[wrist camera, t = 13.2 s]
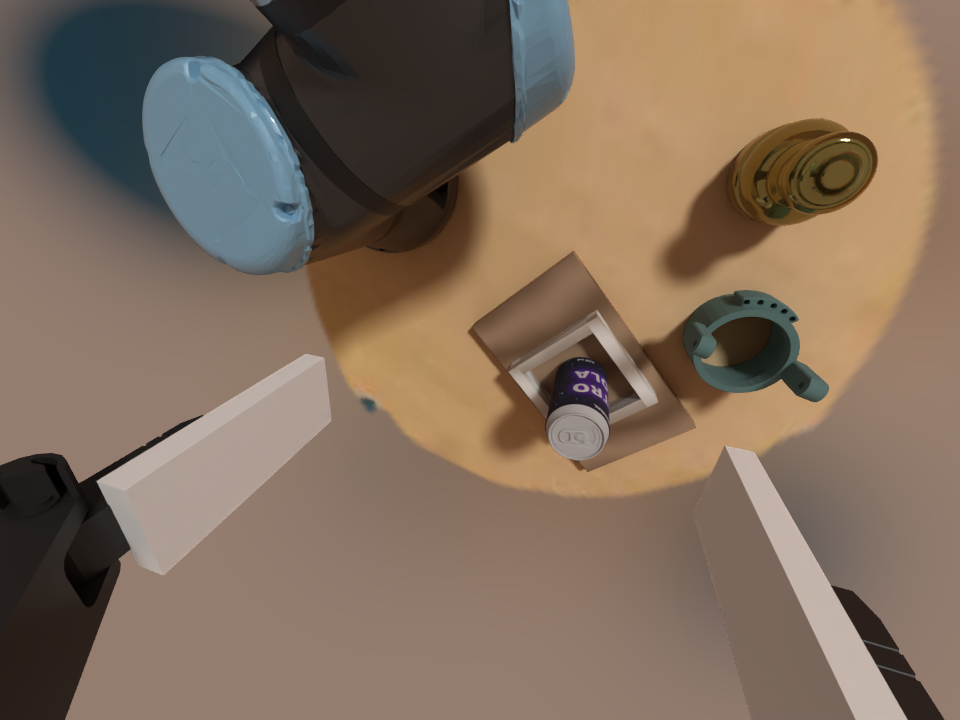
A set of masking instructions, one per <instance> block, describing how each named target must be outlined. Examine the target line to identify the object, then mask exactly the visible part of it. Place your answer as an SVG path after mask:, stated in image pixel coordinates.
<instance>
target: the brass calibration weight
mask: <svg viewBox="0 0 960 720" xmlns="http://www.w3.org/2000/svg"><path fill="white" fill-rule="evenodd" d="M877 164H878V155H877V151H876V148H875V146H874V144H873V143H872V142H871V141H870V140H869V139H868V138H867V137H865V136H863V135H861V134H859V133H855V132H849V131H848V130H847V129H846V128H845V127H844V126H842V125H841V124H839V123H837V122H834V121H831V120H827V119H806V120H801V121H797V122H794V123H790V124H786V125H783V126H780V127H778V128H775V129H772V130H770V131H768V132H765V133H764V134H762V135H760V136H758V137H757V138H755V139H754V140H753V141H751V142H750V143H749V144H748V145H747V146H746V147H745V148H744V149H743V150H742V151H741V152H740V154H739V155H738V156H737V158H736V159H735V161H734V163H733V165H732V167H731V169H730V172H729V175H728V181H727V193H728V197H729V200H730V202H731V204H732V206H733V207H734V208H735V209H736V210H737V211H738V212H739V213H740V214H742V215H743V216H746V217H748V218H750V219H752V220H755V221H758V222H762V223H765V224H769V225H776V226H786V225H793V224H798V223H801V222H804V221H807V220H809V219H812V218H814V217H816V216H818V215H819V214H826V213H830V212H833V211H836V210H839V209H841V208H843V207H845V206H847V205H848V204H850V203H851V202H853V201H854V200H855V199H857V198H858V197H859V196H860V195H861V194H862V193H863V192H864V191H865V190H866V188H867V187H868V186H869V184H870V183H871V181H872V179H873V177H874V175H875V172H876V169H877Z"/></svg>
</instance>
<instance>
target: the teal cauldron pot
mask: <svg viewBox="0 0 960 720" xmlns="http://www.w3.org/2000/svg"><path fill="white" fill-rule="evenodd" d="M742 317H762V318H766V319H770V320H771V321H772V333H771V337H770V339H769V342H768V343H767V345H766V346H765V348H764V349H763V350H762V351H761V352H760V353H759V354H758V355H756V356H755V357H754V358H752V359H750V360H749V361H747V362H744V363H742V364H739V365H735V366H728V367H718V366H712V365H708V364H706V363H703V362H702V361H701V358H704V359H707V358H708V357H710V356H711V355H712V353H713V352H714V350H715V348H716V345H717V342H716V340H715V339H714V337H713V336H712V335H711V333H712V332H713V331H714V330H716V329H717V328H718V327H719V326H721V325H723V324H725V323H726V322H729V321H731V320H734V319H737V318H742ZM798 320H799V318H798V317H797V315H796V314H795V313H794V312H793V311H792V310H791V309H790V308H789V307H788V306H786V305H785V304H783V303H782V302H780V301H779V300H777V299H776V298H774V297H773V296H771V295H768V294H766V293H763V292H758V291H751V290H743V291H735V292H734V294H729V295H723V296H719V297H716V298H713V299H711V300H709V301H707V302H706V303H704V304H702V305H701V306H700V307H698V308H697V309H696V310H695V311H694V313H693V314H692V316H691V317H690V319H689V321H688V322H687V324H686V325H685V327H684V331H683V342H684V347H685V349H686V351H687V353H688V355H689V357H690V359H691V361H692V363H693V365H694V367H695V369H696V371H697V372H698V374H699V375H700V377H701V378H702V379H703V380H704V381H705V382H706V383H708V384H709V385H711V386H713V387H714V388H716V389H719V390H722V391H726V392H732V393H745V392H752V391H757V390H760V389H763V388H766V387H768V386H770V385H772V384H774V383H776V382H777V381H779V380H780V379H782V380H783V381H784V382H785V384H786V385H787V386H788V387H789V388H790V389H791V390H792V391H793V392H794V393H795V394H796V395H797V396H799V397H802V398H804V399H807V400H809V401H812V402H818V401H820V400H822V399H823V398H824V397H825V396H826V394H827V393H828V390H829V386H828V384H827V383H826V382H825V381H823V380H822V379H821V378H820V377H819V376H818V375H817V374H816V373H815V372H813V371H812V370H811V369H810V368H809V367H808V366H807V365H805V364H803V363H801V362H799V361H797V357H798V355H799V349H800V342H799V337H798V334H797V332H796V330H795V328H794V327H793V325H792V324H791V323H793V322H796V321H798Z"/></svg>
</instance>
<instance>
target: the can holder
mask: <svg viewBox="0 0 960 720" xmlns="http://www.w3.org/2000/svg"><path fill="white" fill-rule="evenodd" d="M472 328H473V329H474V330H475V332H476V333H477V334H478V335H479V337H480V338H481V339H482V340H483V342H484V343H485V344H486V345H487V347H488V348H489V349H490V350H491V352H492V353H493V354H494V355H495V357H496V358H497V359H498V360H499V362H500V363H501V364H502V365H503V367H504V368H505V369H506V371H507V372H508V373H509V374H510V376H511V377H512V378H513V379H514V381H515V382H516V383H517V384H518V386H519V387H520V388H521V389H522V391H523V392H524V393H525V394H526V396H527V397H528V398H529V399H530V401H531V402H532V403H533V404H534V406H535V407H536V408H537V409H538V411H539V412H540V413H541V414H542V416H543V417H544V418H545V419H547V414H548V409H549V404H550V399H551V395H552V390H553V385H554V380H555V375H556V372H557V370H558V368H559V366H560V365H561V364H562V363H563V362H565V361H566V360H568V359H571V358H575V357H586V358H590V359H593V360H595V361H596V362H598V363H599V364H600V365H601V366H602V367H603V368H604V370H605V372H606V375H607V384H608V403H609V422H610V435H609V438H608V441H607V442H606V444H605V445H604V447H603V449H602V451H601V452H600V453H599V454H598V455H596V456H595V457H593V458H590V459H587V460H578V461H579V462H580V463H581V465H582V466H583V467H584V468H585V470H586V471H587V472H589V471H591V470H594V469H596V468H599V467H601V466H604V465H606V464H609V463H611V462H614V461H616V460H618V459H621V458H623V457H626V456H628V455H631V454H633V453H636V452H638V451H640V450H643V449H645V448H648V447H650V446H653V445H655V444H658V443H660V442H663V441H665V440H667V439H670V438H672V437H675V436H677V435H680V434H682V433H685V432H687V431H689V430H692V429H694V428H696V426H695V424H694V421H693V419H692V418H691V417H690V415H689V414H688V412H687V411H686V409H685V408H684V407H683V405H682V404H681V402H680V401H679V400H678V398H677V397H676V395H675V394H674V392H673V391H672V390H671V388H670V387H669V385H668V384H667V382H666V381H665V380H664V378H663V377H662V375H661V374H660V373H659V371H658V370H657V368H656V367H655V365H654V364H653V363H652V361H651V360H650V358H649V357H648V355H647V354H646V353H645V351H644V350H643V348H642V347H641V346H640V344H639V343H638V341H637V340H636V338H635V337H634V336H633V334H632V333H631V331H630V330H629V329H628V327H627V326H626V324H625V323H624V321H623V320H622V319H621V317H620V316H619V314H618V313H617V311H616V310H615V309H614V307H613V306H612V304H611V303H610V302H609V300H608V299H607V297H606V296H605V294H604V293H603V292H602V290H601V289H600V287H599V286H598V284H597V283H596V282H595V280H594V279H593V277H592V276H591V275H590V273H589V272H588V270H587V269H586V267H585V266H584V265H583V263H582V262H581V260H580V259H579V258H578V256H577V255H576V253H575V252H574V251H573V252H571V253H570V254H569V255H567V256H566V257H565V258H563V259H562V260H560V261H559V262H558V263H556V264H555V265H554V266H552V267H551V268H550V269H548V270H547V271H545V272H544V273H543V274H541V275H540V276H539V277H537V278H536V279H534V280H533V281H532V282H530V283H529V284H528V285H526V286H525V287H523V288H522V289H521V290H519V291H518V292H517V293H515V294H514V295H513V296H511V297H510V298H508V299H507V300H506V301H504V302H503V303H502V304H500V305H499V306H497V307H496V308H495V309H493V310H492V311H491V312H489V313H488V314H486V315H485V316H484V317H482V318H481V319H480V320H478V321H477V322H475V324H474V325H473V326H472Z"/></svg>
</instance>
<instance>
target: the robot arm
mask: <svg viewBox="0 0 960 720" xmlns="http://www.w3.org/2000/svg"><path fill="white" fill-rule="evenodd" d="M250 1H251V2H252V3H253V5H254V6H255V7H256V8H257V9H258V10H259V11H260V12H261V13H262V14H263V15H264V16H265V17H266V18H267V20H269V22H270V23H271V24H272V25H273V27H272V28H271V29H270V30H269V31H268V32H267V33H266V35H264V37H263V38H262V39H261V40H260V41H259V42H258V43H257V44H256V45H255V46H254V47H253V48H252V50H251V51H250V52H249V53H248V54H247V55H246V56H245V58H244V59H243V60H242V61H241V62H239V63H237V64H235V65H232V66H230V65H228V64H226V63H224V62H223V61H222V60H219V59H216V58H214V57H211V56H205V57H204V56H197V57H194V58H192V57H180V58H176V59H173V60H171V61H169V62H167V63H165V64H163V65H162V66H161V67H160V68H159V69H158V70H157V71H156V72H155V74H154V75H153V76H152V78H151V80H150V82H149V85H148V87H147V90H146V93H145V97H144V102H143V113H142V125H143V134H144V143H145V146H146V149H147V152H148V155H149V161H150V167H151V169H152V172H153V175H154V178H155V180H156V183H157V185H158V187H159V189H160V191H161V194H162V196H163V197H164V199H165V201H166V203H167V205H168V206H169V208H170V210H171V211H172V213H173V215H174V216H175V218H176V219H177V220H178V222H179V223H180V225H181V226H182V227H183V228H184V230H185V231H186V232H187V234H188V235H189V236H190V237H191V238H192V239H193V240H194V241H195V242H196V243H197V244H198V245H199V246H200V247H201V248H202V249H203V250H204V251H205V252H207V253H208V254H209V255H210V256H212V257H213V258H214V259H216V260H217V261H219V262H221V263H224V264H228V265H229V266H231V267H232V268H234V269H235V270H237V271H240V272H243V273H247V274H254V275H265V274H272V273H276V272H286V273H287V272H291V271H296V270H298V269H300V268H302V267H303V266H304V265H307V264H310V263H313V262H317V261H320V260H323V259H326V258H330V257H333V256H336V255H339V254H342V253H346V252H349V251H352V250H355V249H359V248H362V247H365V246H366V247H368V248H371V249H373V250H376V251H381V252H386V253H400V252H406V251H410V250H413V249H415V248H418V247H420V246H423V245H425V244H426V243H428V242H430V241H431V240H432V239H434V238H435V237H436V236H437V235H438V234H439V233H440V232H441V231H442V230H443V228H444V227H445V225H446V224H447V222H448V221H449V219H450V217H451V214H452V212H453V209H454V206H455V203H456V198H457V192H458V174H460V173H461V172H463V171H464V170H466V169H467V168H469V167H470V166H472V165H473V164H475V163H476V162H478V161H479V160H481V159H482V158H484V157H485V156H487V155H489V154H490V153H492V152H493V151H495V150H496V149H498V148H499V147H501V146H502V145H504V144H505V143H507V142H508V141H510V142H511V143H515V142H517V141H518V140H519V138H520V137H521V135H522V133H523V132H524V131H526V130H527V129H529V128H530V127H531V126H533V125H534V124H536V123H537V122H538V121H540V120H541V119H543V118H544V117H545V116H547V115H548V114H550V113H551V112H552V111H554V110H555V109H556V108H558V107H559V106H560V104H561V103H562V102H563V101H564V100H565V98H566V96H567V94H568V92H569V90H570V87H571V85H572V81H573V76H574V71H575V50H574V40H573V32H572V24H571V17H570V11H569V5H568V0H250ZM327 386H328V385H327V376H326V368H325V358H324V357H319V356H314V355H309V354H305V355H303V356H301V357H299V358H298V359H296V360H295V361H293V362H291V363H290V364H288V365H286V366H285V367H283V368H281V369H280V370H278V371H276V372H275V373H273V374H272V375H270V376H268V377H267V378H265V379H263V380H262V381H260V382H258V383H257V384H255V385H253V386H252V387H250V388H249V389H247V390H245V391H244V392H242V393H240V394H239V395H237V396H235V397H234V398H232V399H230V400H229V401H227V402H226V403H224V404H222V405H221V406H219V407H218V408H216V409H214V410H212V411H211V412H209V413H207V414H206V415H201V416H199V417H196V418H193V419H191V420H188V421H185V422H183V423H180V424H179V425H177V426H175V427H174V428H172V429H170V430H169V431H167V432H165V433H163V434H162V436H161V437H157V438H155V439H153V440H152V441H150V442H148V443H147V444H146V446H142V447H140V448H138V449H136V450H135V451H133V452H131V453H130V454H128V455H126V456H125V457H123V458H121V459H120V460H118V461H116V462H114V463H113V464H111V465H110V466H108V467H106V468H104V469H103V470H101V471H100V472H98V473H96V474H94V475H93V476H91V477H89V478H88V479H86V480H84V481H82V482H80V483H78V481H77V480H76V478H75V476H74V474H73V472H72V470H71V469H70V466H69V465H68V462H67V461H66V459H65V458H64V457H63V456H62V455H59V454H54V453H47V454H36V455H31V456H27V457H23V458H19V459H16V460H13V461H11V462H8V463H5V464H3V465H1V466H0V720H65V718H66V715H67V713H68V710H69V707H70V704H71V702H72V699H73V697H74V694H75V691H76V689H77V686H78V683H79V680H80V678H81V675H82V672H83V669H84V667H85V664H86V662H87V658H88V656H89V654H90V651H91V648H92V645H93V643H94V640H95V637H96V635H97V632H98V629H99V627H100V624H101V621H102V618H103V616H104V613H105V610H106V608H107V605H108V602H109V600H110V597H111V594H112V591H113V589H114V586H115V584H116V581H117V578H118V576H119V573H120V566H121V564H120V561H119V558H120V557H121V556H123V555H124V554H125V553H126V552H127V551H129V550H131V552H132V554H133V556H134V558H135V560H136V562H137V564H138V566H140V567H143V568H146V569H148V570H151V571H153V572H156V573H158V574H161V575H165V574H166V573H167V572H168V571H169V570H170V569H171V568H172V567H173V566H174V565H175V564H177V563H178V561H180V560H181V559H182V558H183V557H184V556H185V555H186V554H187V553H188V552H190V551H191V550H192V549H193V548H194V547H195V546H196V545H197V544H198V543H199V542H200V541H201V540H203V539H204V538H205V537H206V536H207V535H208V534H209V533H210V532H211V531H212V530H213V529H215V528H216V527H217V526H218V525H219V524H220V523H221V522H222V521H223V520H224V519H225V518H226V517H228V516H229V515H230V514H231V513H232V512H233V511H234V510H235V509H236V508H237V507H238V506H239V505H240V504H242V503H243V502H244V501H245V500H246V499H247V498H248V497H249V496H250V495H251V494H252V493H254V491H256V490H257V489H258V488H259V487H260V486H261V485H262V484H263V483H264V482H266V481H267V480H268V479H269V478H270V477H271V476H272V475H273V474H274V473H275V472H276V471H277V470H279V469H280V468H281V467H282V466H283V465H284V464H285V463H286V462H287V461H288V460H289V459H290V458H292V457H293V456H294V455H295V454H296V453H297V452H298V451H299V450H300V449H301V448H302V447H303V446H304V445H306V444H307V443H308V442H309V441H310V440H311V439H312V438H313V437H314V436H315V435H316V434H318V433H319V432H320V431H321V430H322V429H323V428H324V427H325V426H326V425H327V424H328V423H329V422H331V412H330V403H329V394H328V387H327ZM693 516H694V520H695V523H696V527H697V530H698V534H699V537H700V541H701V544H702V548H703V551H704V555H705V558H706V562H707V565H708V569H709V572H710V576H711V579H712V583H713V586H714V590H715V593H716V597H717V600H718V604H719V607H720V611H721V614H722V618H723V621H724V625H725V628H726V632H727V635H728V639H729V642H730V646H731V649H732V653H733V656H734V660H735V663H736V667H737V670H738V674H739V677H740V680H741V684H742V688H743V691H744V695H745V698H746V702H747V705H748V709H749V712H750V716H751V719H752V720H944V719H943V717H942V715H941V714H940V712H939V711H938V709H937V708H936V706H935V704H934V703H933V701H932V699H931V698H930V697H929V695H928V693H927V692H926V690H925V689H924V687H923V686H922V684H921V682H920V681H917V680H916V678H915V673H914V671H913V670H912V668H911V667H910V665H909V664H908V662H907V661H906V659H905V657H904V656H903V655H901V654H899V648H898V647H897V645H896V644H895V642H894V640H893V639H892V637H891V636H890V634H889V633H888V631H887V629H886V628H885V626H884V625H883V623H882V621H881V620H880V619H879V618H878V617H877V616H876V615H875V614H874V612H873V611H872V610H871V609H870V608H869V607H868V606H867V605H866V604H865V603H864V602H863V601H862V600H861V599H860V598H859V597H858V596H857V595H856V594H855V593H854V592H853V591H850V590H846V589H843V588H839V587H835V586H832V585H830V584H829V582H828V580H827V579H826V577H825V575H824V573H823V571H822V570H821V568H820V566H819V564H818V563H817V561H816V559H815V557H814V556H813V554H812V552H811V550H810V549H809V547H808V545H807V543H806V542H805V540H804V538H803V536H802V535H801V533H800V531H799V529H798V528H797V526H796V524H795V522H794V521H793V519H792V517H791V515H790V514H789V512H788V510H787V509H786V507H785V505H784V503H783V501H782V500H781V498H780V496H779V495H778V493H777V491H776V489H775V488H774V486H773V484H772V482H771V481H770V479H769V477H768V475H767V474H766V472H765V470H764V469H763V467H762V465H761V463H760V461H759V460H758V458H757V456H756V454H755V453H754V452H752V451H747V450H743V449H738V448H734V447H729V446H724V448H723V451H722V453H721V455H720V457H719V459H718V461H717V463H716V465H715V467H714V469H713V471H712V474H711V476H710V478H709V480H708V482H707V484H706V486H705V489H704V490H703V492H702V494H701V497H700V499H699V501H698V503H697V505H696V507H695V509H694V511H693Z"/></svg>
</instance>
